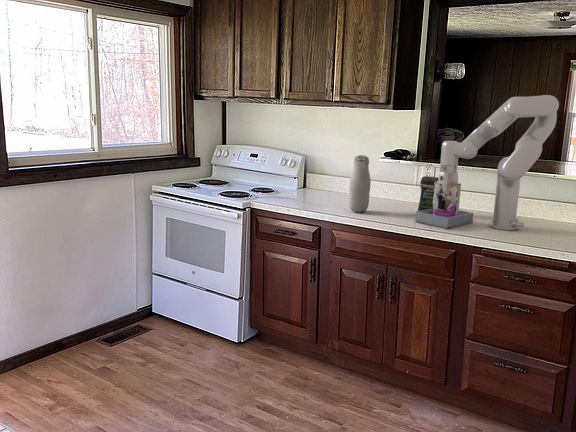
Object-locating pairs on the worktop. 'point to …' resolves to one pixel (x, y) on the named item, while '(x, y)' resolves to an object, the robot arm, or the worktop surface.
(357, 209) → the grey bottle
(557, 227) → the worktop surface
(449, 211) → the candy bar box
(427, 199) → the coffee jar
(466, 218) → the tray
